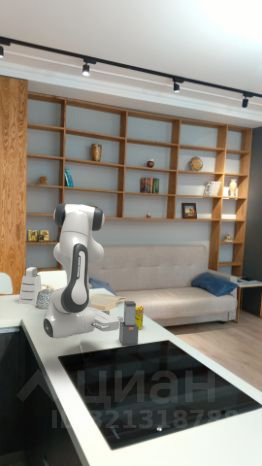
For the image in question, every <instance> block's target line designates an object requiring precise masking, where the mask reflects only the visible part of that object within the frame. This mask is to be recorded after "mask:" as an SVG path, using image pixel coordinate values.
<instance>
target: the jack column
mask: <svg viewBox="0 0 262 466" xmlns="http://www.w3.org/2000/svg"><path fill="white" fill-rule="evenodd" d="M136 306H137V303H136V302H135V300H128V301H124V305H123V324H124V326H135V314H136Z"/></svg>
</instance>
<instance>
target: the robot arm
mask: <svg viewBox="0 0 262 466" xmlns="http://www.w3.org/2000/svg"><path fill="white" fill-rule="evenodd" d="M53 220H54V223H55V224H56V226H58V227H59V228H61V231H60V236H59V242H57V244H55V246H54V248H53V257H54V259H55V260H56V261H57V262H58V263H59V264H61V266H62V268H63V269H64V271H65V274H66V286H63V287H60V288H57V289H55V290H53V291H52V292H51V293H50V295H49V297H48V308H47V311H46V312H47V313H46V316H45V317H44V318H43V324H42V325H43V329H44V332H45V333H46V335H47V336H48V337H49V338H51V339H62V338H63V339H65V338H69V337H72V336H75V335H84V334H87V333H92V332H94V330H95V329H97V330H98V331H101V332H111V331H118V330H119V328H120V322H124V316H123V317H122V316H117V318H116V317H114V316H112V315H111V314H110V311H109V310H107V309H106V310H102V309H98V308H96V307H94V306H93V307H92V300H91V298H90V289H89V284H90V283H89V281H90V280H89V278H90V276H89V273H88V271H89V270H88V268H89V267H88V266H89V265H88V264H96V263H100V262H102V260H103V259H104V256H105V249H104V248H103V246H102V245H101V244H100V243H99V242H97V241H96V240H95V239H94V237H93V232H96V231H97V232H98V231H100V230H101V229H102V227H103V225H104V223H105V213H104V211H103V209H102V208H99V207H94V206H90V205H86V204H81V203H80V204H75V203H74V204H73V203H69V204H68V203H65V202H64V203H59V204H58V205H56V207H55V209H54V211H53Z"/></svg>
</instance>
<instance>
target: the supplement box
mask: <svg viewBox="0 0 262 466" xmlns="http://www.w3.org/2000/svg"><path fill="white" fill-rule="evenodd" d="M144 309H145V307H144V306H140V305H136V314H135V323H136V324H137V325H138V327H139V330H138V331H141V330H142V328H143V326H144V324H143V323H144Z"/></svg>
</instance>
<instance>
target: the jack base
mask: <svg viewBox="0 0 262 466" xmlns="http://www.w3.org/2000/svg"><path fill="white" fill-rule="evenodd" d="M123 322H124V321H123ZM123 322H119V329H118V330H119V334H118V341H119V343H120V345H121V346H122V347H123V346H124V347H125V346H127V347H129V346H138V345H139V344H138V343H139V331H140V330H139V327H138V325H137V324H136V323H135V326H124V324H123Z"/></svg>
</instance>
